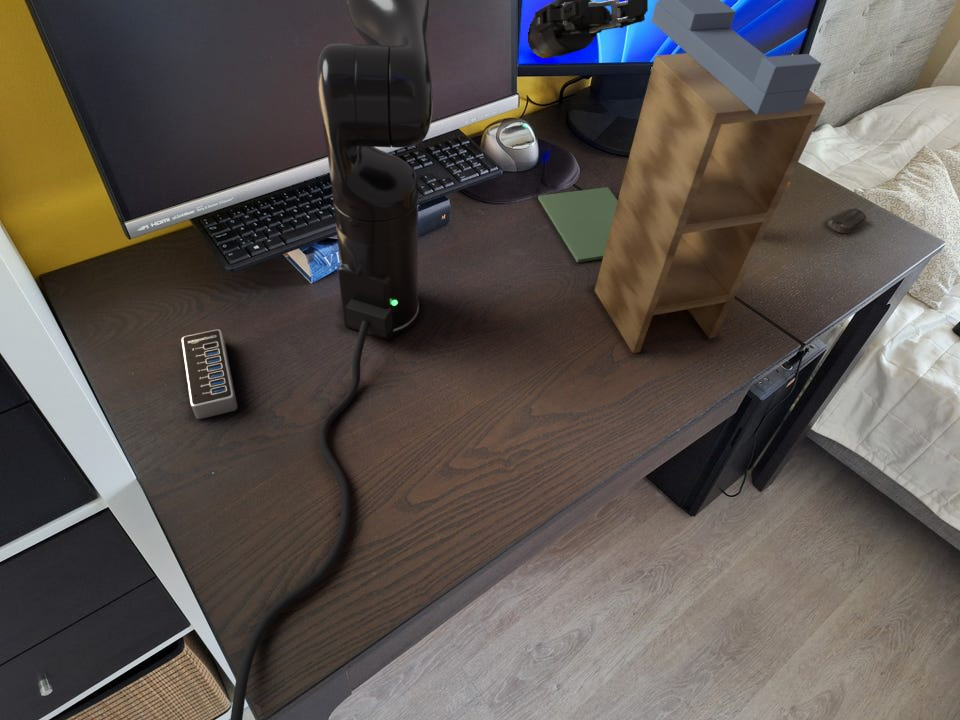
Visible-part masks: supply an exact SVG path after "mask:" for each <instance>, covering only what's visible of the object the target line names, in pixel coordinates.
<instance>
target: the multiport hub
mask: <svg viewBox="0 0 960 720" xmlns="http://www.w3.org/2000/svg"><path fill="white" fill-rule="evenodd" d="M181 347H182V354H183V360H184V368H185V373H186V374H185V375H186V381H187V388H188V397H189V402H190V406H191V409H192V411H193V414H194V416H195V418H196V419H197V420H203V419H207V418H210V417H214V416H218V415H223V414H227V413H230V412H235V411H236V410H238V408H239V407H238V403H237V397H236V392H235V386H234V382H233V377H232V372H231V366H230V361H229V356H228V351H227V346H226V343H225V339H224V336H223V334H222V330H221V329H213V330H207V331H203V332H198V333H193V334H189V335H184V336H183V337H182V338H181Z"/></svg>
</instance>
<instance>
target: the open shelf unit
mask: <svg viewBox="0 0 960 720" xmlns="http://www.w3.org/2000/svg"><path fill="white" fill-rule="evenodd" d="M650 71H651V72H650V75H649V79H648V82H647V87H646V90H645V95H644V99H643V102H642V107H641V110H640V114H639V117H638V121H637V124H636V125H637V126H636V128H635V133H634V137H633V141H632V145H631V147H630V152H629V156H628V160H627V164H626V167H625V172H624V176H623V179H622V183H621V187H620V191H619V193H618V198H617V200H618V202H617V206H616V210H615V214H614V217H613V221H612V225H611V229H610V233H609V237H608V241H607V244H606V248H605V252H604V256H603V259H601V264H600V268H599V273H598V276H597V280H596V283H595V287H594V293H595V294H596V295H597V297H598V299H599V301H600V303H601V304H602V306H603V307H604V308H605V310H606V312H607V314H608V315H609V317H610V318H611V320H612V322H613V323H614V326H615V327H616V328H617V331H618V332H619V333H620V335H621V336H622V338H623V340H624V341H625V343H626V344H627V346H628V348H629V350H630V351H631V352H632V354H637V353H640V352H641V349H642V347H643V344H644V342H645V338H646V335H647V332H648V330H649V327H650V325H651V322H652V319H653V317H654V316H657V315H663V314H667V313H673V312H679V311H683V310H687V311H689V313H690V314H691V316H692V317H693V319H694V320H695V321H696V323H697V324H698V325H699V327H700V328H701V329H702V331H703V332H704V334H705V335H706V336H707V338H708V339H712V338H716V337H717V335H718V333H719V330H720V328H721V326H722V324H723V322H724V320H725V317H726V316H727V313H728V312H729V309H730V308H731V305H732V303H733V301H734V299H735V297H736V294H737V292H738V290H739V288H740V287H741V284H742V282H743V281H744V280H743V279H744V278H745V275H746V273H747V271H748V269H749V267H750V264H751V263H752V261H753V259H754V257H755V254H756V252H757V250H758V248H759V246H760V243H761V241H762V240H763V238H764V235H765V233H766V231H767V229H768V227H769V224H770V223H771V220H772V218H773V217H774V214H775V212H776V209H777V208H778V206H779V203H780V201H781V199H782V197H783V195H784V193H785V191H786V190H787V189H786V186H787V184H788V182H790V180H791V178H792V176H793V173H794V171H795V170H796V167H797V165H798V164H799V161H800V158H801V156H802V154H803V152H804V151H805V149H806V147H807V144H808V142H809V141H810V137H811V136H812V133H813V131H814V129H815V127H816V125H817V123H818V120H819V119H820V116H821V113H822V112H823V111H824V108H825V106H826V104H827V102H826V101H825V100H824V99H822V98H821V97H820V96H818V95H817V94H816V93H815V92H813V91H812V90H810V91H809V93H808V95H807V97H806V100H805V102H804V104H803V106H802V109H801V110H800V111H791V112H781V113H771V114H761V115H756V114H755V113H754V112H753V111H752V110H751V109H750V108H748V107H747V106H746V105H745V104H744V103H743V102H742V101H741V100H739V99H738V98H737V97H736V96H735V95H734V94H733V93H732V92H730V91H729V90H728V89H727V88H726V87H725V86H724V85H723V84H721V83H720V82H719V81H718V80H717V79H716V78H715V77H714V76H712V75H711V74H710V73H709V72H708V71H707V70H706V69H704V68H703V67H702V66H701V65H700V64H699V63H698V62H697V61H695V60H694V59H693V58H692V57H691V56H690V55H689V54H688V53H686V52H685V53H672V54H660V55H659V54H658V55H657V54H656V55H655V56H654V60H653V64H652V67H651V70H650Z"/></svg>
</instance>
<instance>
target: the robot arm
mask: <svg viewBox="0 0 960 720" xmlns="http://www.w3.org/2000/svg"><path fill="white" fill-rule="evenodd" d="M648 1H649V0H624V1H620V0H603V1H599V0H598V1H597V0H594V1H592V0H553V1H551V2H549V3H547V4H546V5H544V6H543V7H542V8H541V9H539V10H536V11H537V12H535V17H534V18H533V21H532V22H531V24H530V28H529V32H528V43H529V46H530V48H531V50H532V51H533V53H534V54H536V55H537V56H539V57H541V58H550V59H551V58H554V57H562V56H566V55H569V54H572V53H576V52H578V51H581V50H584V49H586V48H587V47H589V46H590V45H591V44H592V43H593V41H594V40H595V38H596V36H597V34H601V33H602V31H607V30H612V29H618V28H619V29H623V28H624V27H628V26H632V25H634V24H637V23H642V22H644V21H645V20H646V14H647V13H648V11H649V6H648V5H649V2H648ZM429 5H430V2H429V0H346V7H347V13H348V15H349V19H350V21H351V23H352V25H353V27H354V29H355V30H356V32H357V33H358V35H359V36H360V37H361V38H362V40H363V41H364V42H365V43H366V44H361V43H360V44H359V43H331V44H327V45H326V46H325V47H323V49H322V51H321V52H320V54H319V57H318V60H317V66H316V76H315V77H316V94H317V102H318V109H319V116H320V121H321V127H322V131H323V137H324V142H325V147H326V148H325V149H326V155H327V162H328V168H329V170H328V171H329V177H330V185H331V192H332V201H333V211H334V218H335V231H336V239H337V247H338V256H339V264H340V266H339V267H337V274H338V281H339V288H340V289H339V292H340V298H341V299H340V300H341V307H342V315H343V325H344V327H346V328H348V329H351V330H355V331H357V332H358V335H357V338H356V342H355V347H354V350H353V355H352V363H351V369H352V370H351V373H352V374H351V383H350V386H349V388H348V391H347V392H346V394H345V396H344V397H343V398H342V399H341V400H340V401H339V402H338V403H337V404H336V405H335V406H334V407H333V408H332V409H331V410H330V411H329V412H328V413H327V415H326V416H325V417H324V419H323V420H322V422H321V424H320V427H319V430H318V437H317V438H318V446H319V450H320V452H321V454H322V457H323V458H324V459H323V460H324V461H325V462H326V464H327V465H328V467H329V469H330V470H331V471H332V474H333V475H334V477H335V479H336V481H337V483H338V486H339V492H340V519H339V526H338V530H337V532H336V533H337V534H336V537H335V539H334V541H333V544H332V546H331V548H330V550H329V552H328V554H327V556H326V558H325V560H324V561H323V562H322V564H321V565H320V566H319V568H318V569H316V571H314V572H313V574H312V575H310V576H309V577H308V578H307V579H305V580H304V581H303V582H301V583H300V584H298V585H297V586H296V587H294V588H293V589H292V590H290V591H289V592H287V593H285V595H283V596H282V597H281V598H279V599H278V600H277V601H276V602H275V603H273V605H272V606H271V607H270V608H268V610H266V612H265V613H264V615H263V616H262V617H261V618H260V620H259V622H257V625H256V626H255V628H254V629H253V631H252V633H251V635H250V637H249V639H248V642H247V644H246V646H245V647H244V648H245V649H244V652H243V653H242V657H241V660H240V662H239V667H238V669H237V675H236V679H235V684H234V690H233V696H232V703H231V704H232V705H231V712H230V718H229V719H230V720H243V718H244V711H245V702H246V695H247V688H248V682H249V677H250V671H251V668H252V664H253V661H254V658H255V654H256V652H257V650H258V647H259V645H260V643H261V641H262V638H263V637H264V636H265V633H266V632H267V630H268V628H269V627H270V625H271V624H272V622H273V621H274V620H275V618H276V617H277V616H278V615H279V614H280V613H281V612H282V611H283V610H284V609H285V608H287V607H288V606H289V605H290V604H293V602H294V601H296V600H297V599H298V598H300V597H301V596H303V595H305V593H308V591H310V590H311V589H312V588H313V587H315V586H316V585H317V584H319V582H321V581H322V580H323V579H324V578H325V576H327V574H328V573H329V572H330V571H331V569H332V568H333V566H334V564H335V563H336V562H337V559H338V558H339V556H340V554H341V552H342V549H343V547H344V545H345V542H346V539H347V535H348V532H349V528H350V523H351V493H350V492H351V491H350V487H349V483H348V480H347V478H346V475H345V474H344V472H343V470H342V468H341V466H340V464H339V463H338V462H337V460H336V459H335V457H334V456H333V453H332V452H331V449H330V447H329V444H328V443H329V442H328V432H329V429H330V426H331V425H332V423H333V421H334V420H335V419H336V418H337V417H338V416H339V415H340V414H341V413H342V412H343V411H344V410H345V409H346V408H347V407H348V405H349V404H350V403H351V402H352V400H353V399H354V398H355V397H356V395H357V392H358V389H359V387H360V382H361V359H362V354H363V350H364V346H365V342H366V339H367V338H366V337H367V335H370V336H373V337H376V338H379V339H383V340H386V341H389V340H391V338H392V337H393V336H394V335H397V334H399V333H401V332H404V331H406V330H408V328H410V327H412V326H413V324H414V323H415V322H416V321H417V319H418V316H419V313H420V312H419V311H420V303H419V302H420V301H419V184H418V177H417V174H416V172H415V171H414V169H413V167H412V166H411V165H410V164H408V162H406V160H403V159H401V158H400V157H398V156H396V155H394V154H391V153H390V152H389V153H388V152H386V151H384V150H381V149H379V148H396V149H397V148H399V149H401V148H408V147H414V146H418V145H419V144H421V143H422V142H423V141H424V140H425V139H426V137H427V135H428V133H429V131H430V127H431V124H432V118H433V108H434V107H433V106H434V105H433V104H434V96H433V81H432V73H431V64H430V63H431V62H430V53H429V46H428V25H429V23H428V22H429V7H430V6H429ZM607 7H610V9H611V11H610V10H609V9H608V8H607Z"/></svg>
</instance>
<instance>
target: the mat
mask: <svg viewBox="0 0 960 720" xmlns="http://www.w3.org/2000/svg"><path fill="white" fill-rule="evenodd" d="M537 199H538V201H539V202H540V204H541V206H542V208H543V210H544V211H545V212H546V214H547V215H548V217H549V219H550V220H551V222H552V223H553V225H554V227H555V229H556V230H557V232H558V234H559V235H560V237H561V238H562V240H563V242H564V244H565V245H566V246H567V248H568V250H569V251H570V253H571V255H572V256H573V258H574V260H575V262H576V263H577V264H578V263H585V262H591V261H596V260H597V261H599V260H603V256H604V252H605V248H606V244H607V241H608V237H609V233H610V229H611V225H612V221H613V217H614V214H615V210H616V206H617V202H618V198H616V196H615V195H614V193H613V192H612V191H611V189H610V188H609V187H608V186H605V187H598V188H597V187H596V188H590V189H581V190H574V191H565V192H558V193H549V194H542V195H538V198H537Z"/></svg>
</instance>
